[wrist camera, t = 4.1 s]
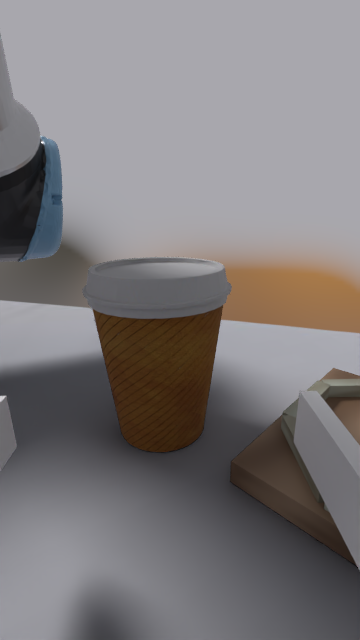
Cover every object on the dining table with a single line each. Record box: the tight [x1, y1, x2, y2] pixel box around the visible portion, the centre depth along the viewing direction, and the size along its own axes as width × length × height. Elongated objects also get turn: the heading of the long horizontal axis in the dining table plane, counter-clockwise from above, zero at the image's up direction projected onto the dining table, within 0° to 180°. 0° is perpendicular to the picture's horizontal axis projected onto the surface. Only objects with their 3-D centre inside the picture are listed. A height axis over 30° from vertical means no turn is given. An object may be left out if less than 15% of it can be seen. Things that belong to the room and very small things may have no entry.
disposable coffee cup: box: [83, 257, 231, 452], centre depth 23 cm, size 10×10×12 cm
